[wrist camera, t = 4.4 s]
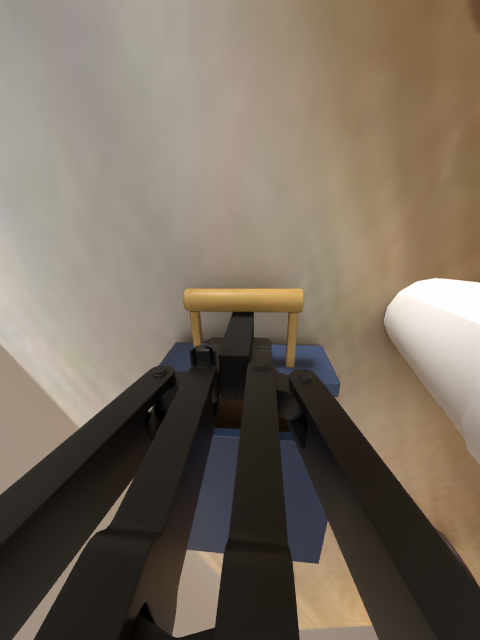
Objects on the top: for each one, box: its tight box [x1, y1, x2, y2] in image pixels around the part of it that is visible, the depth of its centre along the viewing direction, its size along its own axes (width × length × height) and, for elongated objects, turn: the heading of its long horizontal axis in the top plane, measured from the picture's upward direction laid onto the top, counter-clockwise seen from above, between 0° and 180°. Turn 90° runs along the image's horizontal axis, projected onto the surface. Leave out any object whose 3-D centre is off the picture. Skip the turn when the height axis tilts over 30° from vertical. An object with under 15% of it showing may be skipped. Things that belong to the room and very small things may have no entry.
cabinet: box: [187, 428, 328, 564], centre depth 23 cm, size 17×15×7 cm
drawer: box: [159, 289, 340, 432], centre depth 20 cm, size 22×13×5 cm, turn 1°
